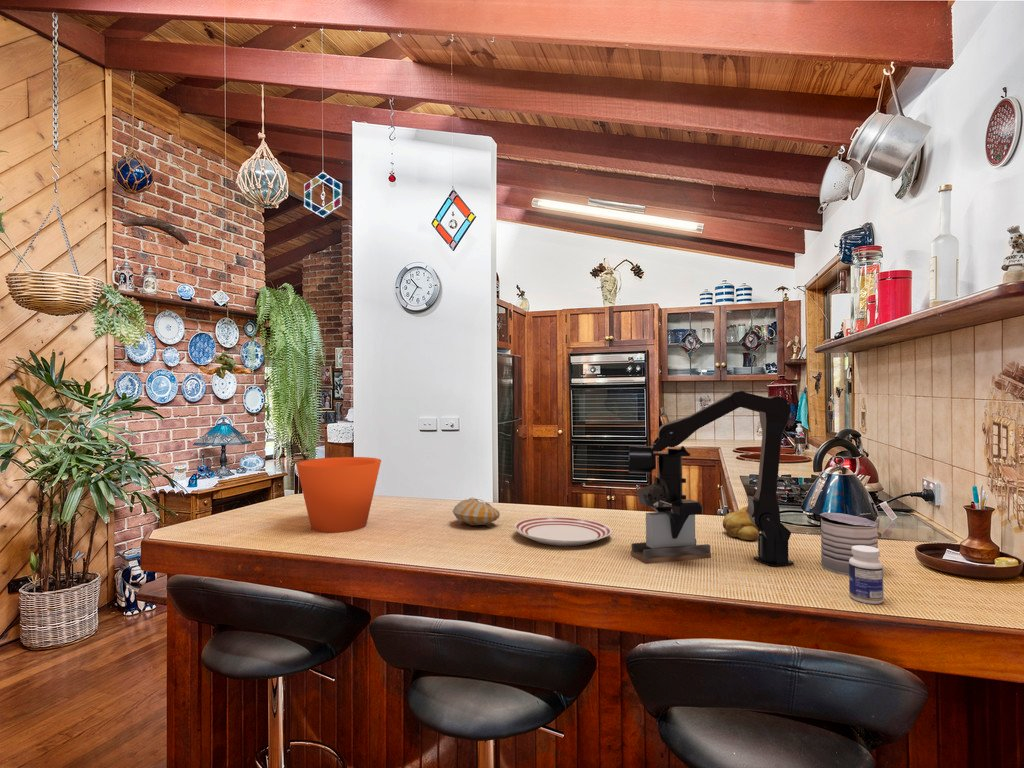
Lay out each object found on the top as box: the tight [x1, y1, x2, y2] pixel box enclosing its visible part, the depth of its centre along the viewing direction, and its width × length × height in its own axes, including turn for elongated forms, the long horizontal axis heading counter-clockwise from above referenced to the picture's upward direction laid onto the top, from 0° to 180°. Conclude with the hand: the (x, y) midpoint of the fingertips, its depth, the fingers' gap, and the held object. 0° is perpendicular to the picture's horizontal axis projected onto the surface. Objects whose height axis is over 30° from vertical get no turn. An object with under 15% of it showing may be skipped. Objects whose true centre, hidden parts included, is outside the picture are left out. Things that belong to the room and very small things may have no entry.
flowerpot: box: [295, 456, 382, 534], centre depth 169 cm, size 25×25×20 cm
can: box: [818, 512, 880, 576], centre depth 127 cm, size 11×11×12 cm
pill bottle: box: [848, 545, 885, 605], centre depth 108 cm, size 6×6×10 cm
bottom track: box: [630, 538, 712, 564], centre depth 137 cm, size 18×7×3 cm, turn 106°
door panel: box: [645, 511, 696, 549], centre depth 137 cm, size 12×3×8 cm, turn 106°
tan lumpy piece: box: [722, 505, 760, 541], centre depth 157 cm, size 13×10×8 cm
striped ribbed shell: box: [452, 497, 501, 527], centre depth 174 cm, size 8×22×15 cm
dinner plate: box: [513, 516, 613, 547], centre depth 156 cm, size 28×27×3 cm
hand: (670, 536), depth 137 cm, fingers closed on door panel, 3 cm apart
